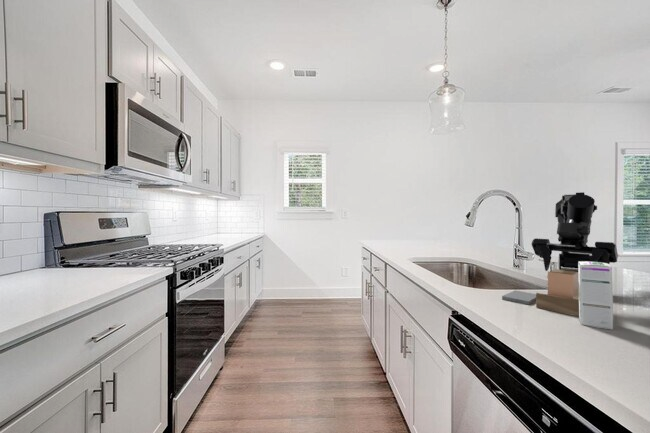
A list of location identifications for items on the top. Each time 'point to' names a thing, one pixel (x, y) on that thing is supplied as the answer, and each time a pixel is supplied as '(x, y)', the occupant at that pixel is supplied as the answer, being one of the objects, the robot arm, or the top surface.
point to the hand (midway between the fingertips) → (565, 272)
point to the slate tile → (520, 297)
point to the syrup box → (595, 294)
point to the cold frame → (557, 304)
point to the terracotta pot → (563, 284)
